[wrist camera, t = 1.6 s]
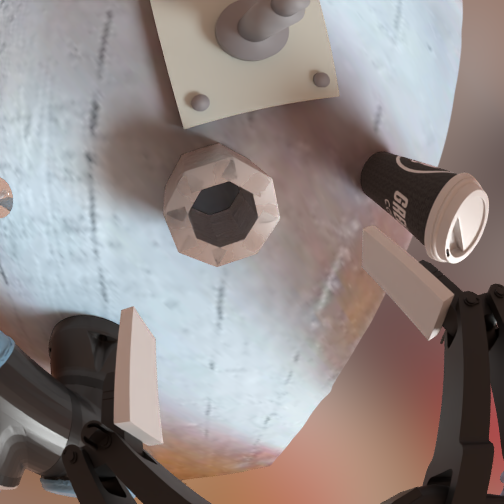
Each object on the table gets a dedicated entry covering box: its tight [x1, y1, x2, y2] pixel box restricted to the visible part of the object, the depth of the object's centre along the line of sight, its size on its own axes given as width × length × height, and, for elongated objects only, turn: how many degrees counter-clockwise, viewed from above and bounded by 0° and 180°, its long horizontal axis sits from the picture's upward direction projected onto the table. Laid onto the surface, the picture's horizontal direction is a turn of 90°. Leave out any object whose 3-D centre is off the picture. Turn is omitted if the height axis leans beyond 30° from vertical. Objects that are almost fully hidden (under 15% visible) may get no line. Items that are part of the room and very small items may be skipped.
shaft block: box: [150, 0, 339, 129], centre depth 16 cm, size 16×16×12 cm
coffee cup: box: [361, 152, 489, 263], centre depth 26 cm, size 10×10×15 cm
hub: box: [163, 143, 280, 267], centre depth 25 cm, size 9×9×7 cm
